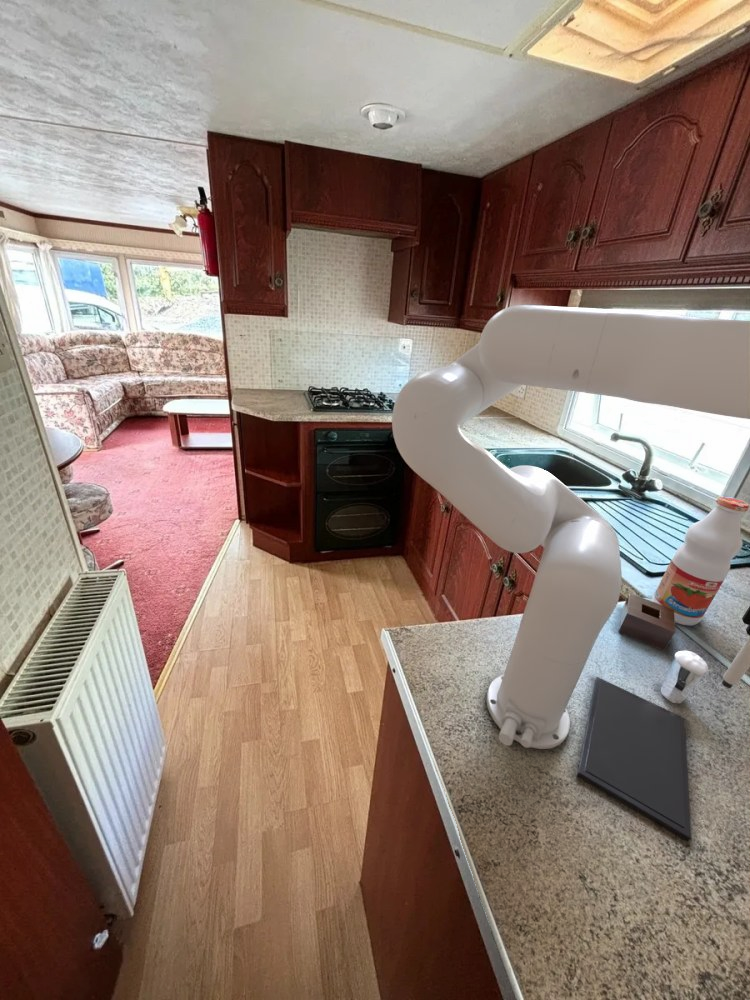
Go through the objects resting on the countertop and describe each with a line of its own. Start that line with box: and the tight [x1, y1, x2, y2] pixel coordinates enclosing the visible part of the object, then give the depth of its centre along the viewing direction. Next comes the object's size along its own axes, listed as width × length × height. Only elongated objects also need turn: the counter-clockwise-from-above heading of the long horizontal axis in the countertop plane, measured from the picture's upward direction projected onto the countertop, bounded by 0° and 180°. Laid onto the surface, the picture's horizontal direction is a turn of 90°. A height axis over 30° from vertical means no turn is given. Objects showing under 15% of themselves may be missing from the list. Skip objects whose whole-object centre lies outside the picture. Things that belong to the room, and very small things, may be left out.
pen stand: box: [618, 593, 676, 652], centre depth 83 cm, size 8×8×5 cm
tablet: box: [576, 676, 692, 843], centre depth 60 cm, size 20×13×1 cm, turn 147°
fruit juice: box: [651, 495, 750, 626], centre depth 85 cm, size 9×9×28 cm
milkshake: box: [660, 650, 717, 704], centre depth 67 cm, size 4×5×10 cm
